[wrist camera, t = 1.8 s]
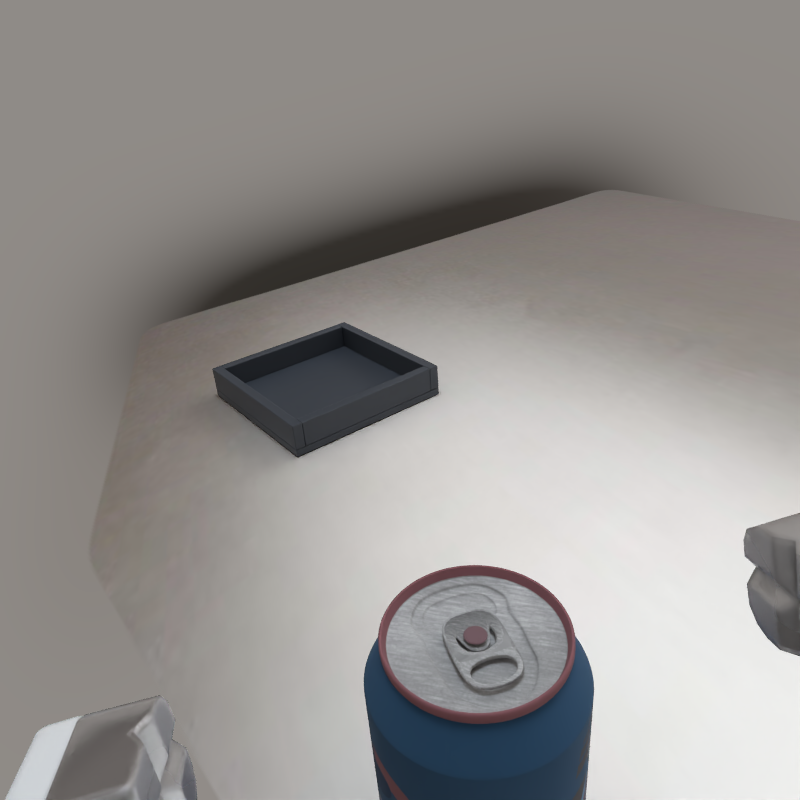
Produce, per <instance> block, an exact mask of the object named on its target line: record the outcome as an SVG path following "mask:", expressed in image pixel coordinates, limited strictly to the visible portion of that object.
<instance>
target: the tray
mask: <svg viewBox="0 0 800 800" xmlns="http://www.w3.org/2000/svg"><path fill="white" fill-rule="evenodd" d="M213 374H214V378H215V383H216V387H217V392H218V395H219V396H220V397H221V398H223V399H224V400H225V401H226V402H228V403H229V404H230V405H232V406H233V407H234V408H235V409H237V410H238V411H239V412H241V413H242V414H243V415H244V416H246V417H247V418H248V419H250V420H251V421H252V422H253V423H255V424H256V425H257V426H259V427H260V428H261V429H262V430H264V431H265V432H266V433H268V434H269V435H270V436H271V437H273V438H274V439H275V440H277V441H278V442H279V443H281V444H282V445H283V446H284V447H286V448H287V449H288V450H290V451H291V452H292V453H293V454H295V455H296V456H297V457H299V456H301V455H303V454H305V453H307V452H310V451H312V450H314V449H316V448H319V447H321V446H323V445H325V444H327V443H330V442H332V441H334V440H336V439H339V438H341V437H343V436H345V435H348V434H350V433H352V432H354V431H356V430H359V429H361V428H363V427H365V426H368V425H370V424H372V423H374V422H376V421H379V420H381V419H383V418H385V417H388V416H390V415H392V414H394V413H396V412H399V411H401V410H403V409H405V408H408V407H410V406H412V405H414V404H417V403H419V402H421V401H423V400H425V399H428V398H430V397H432V396H434V395H437V394H438V393H439V392H438V373H437V366H436V365H434V364H432V363H430V362H428V361H426V360H424V359H421V358H419V357H417V356H415V355H413V354H411V353H409V352H407V351H404V350H402V349H400V348H398V347H396V346H394V345H392V344H390V343H387V342H385V341H383V340H381V339H379V338H377V337H375V336H372V335H370V334H368V333H366V332H364V331H362V330H360V329H358V328H355V327H353V326H351V325H349V324H347V323H345V322H344V323H341V324H338V325H335V326H332V327H330V328H327V329H324V330H321V331H318V332H315V333H313V334H310V335H307V336H304V337H301V338H298V339H295V340H293V341H290V342H287V343H284V344H281V345H278V346H276V347H273V348H270V349H267V350H264V351H261V352H258V353H256V354H253V355H250V356H247V357H244V358H241V359H239V360H236V361H233V362H230V363H227V364H224V365H222V366H219V367H216V368H213Z"/></svg>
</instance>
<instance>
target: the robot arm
mask: <svg viewBox="0 0 800 800" xmlns="http://www.w3.org/2000/svg"><path fill="white" fill-rule="evenodd" d="M744 552H745V557H746V558H747V559H748V560H749V561H750V562H752V563H753V564H754V565H755V566H756V568H755V570H754V572H753V574H752V575H751V577H750V579H749V581H748V583H747V588H748V596H749V604H750V607H751V609H752V612H753V614H754V617H755V619H756V621H757V624H758V625H759V627H760V628H761V630H762V631H763V632H764V634H765V635H766V637H767V638H768V639H769V640H770V641H771V642H772V643H773V644H774V645H775V646H776V647H778V648H779V649H780V650H783V651H786V652H789V653H792V654H795V655H798V656H800V513H798V514H794V515H791V516H788V517H784V518H781V519H778V520H775V521H771V522H768V523H765V524H761V525H758V526H755V527H751V528H748V529H747V530H746V533H745V537H744ZM174 725H175V718H174V716H173V713H172V711H171V709H170V706H169V704H168V702H167V700H166V699H165V698H163V697H162V696H160V695H158V696H155V697H151V698H147V699H143V700H139V701H135V702H132V703H128V704H124V705H120V706H116V707H113V708H109V709H105V710H101V711H97V712H93V713H90V714H86V715H84V716H78V717H74V718H71V719H68V720H64V721H61V722H57V723H54V724H50V725H47V726H45V727H43V728H42V729H41V730H39V731H38V732H37V733H36V735H35V737H34V739H33V741H32V743H31V746H30V748H29V750H28V752H27V754H26V756H25V758H24V760H23V762H22V764H21V767H20V769H19V771H18V773H17V775H16V777H15V779H14V781H13V783H12V786H11V788H10V790H9V792H8V794H7V796H6V798H5V800H197V791H196V779H195V775H194V771H193V766H192V762H191V760H190V757H189V754H188V751H187V749H186V747H184V746H183V745H181V744H179V743H178V742H176V741H174V740H173V739H172V735H173V730H174Z"/></svg>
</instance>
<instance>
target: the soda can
mask: <svg viewBox="0 0 800 800" xmlns="http://www.w3.org/2000/svg"><path fill="white" fill-rule="evenodd" d="M364 692H365V699H366V706H367V713H368V720H369V727H370V734H371V741H372V748H373V755H374V762H375V769H376V776H377V783H378V790H379V797H380V800H586V787H587V774H588V761H589V748H590V735H591V722H592V709H593V696H594V682H593V675H592V671H591V667H590V664H589V661H588V658H587V656H586V654H585V651H584V650H583V648H582V646H581V644H580V643H579V641H578V639H577V638H576V636H575V633H574V629H573V625H572V622H571V620H570V617H569V615H568V614H567V612H566V610H565V609H564V607H563V606H562V604H561V603H560V602H559V600H558V599H557V598H556V597H555V596H554V595H553V594H552V593H551V592H550V591H549V590H547V589H546V588H545V587H543V586H542V585H540V584H539V583H537V582H536V581H534V580H532V579H530V578H528V577H526V576H524V575H522V574H519V573H517V572H514V571H510V570H507V569H503V568H498V567H492V566H482V565H467V566H458V567H451V568H446V569H443V570H439V571H436V572H433V573H430V574H428V575H426V576H424V577H422V578H420V579H418V580H416V581H414V582H413V583H411V584H410V585H409V586H407V587H406V588H405V589H403V590H402V591H401V592H400V593H399V594H398V595H397V596H396V597H395V598H394V600H393V601H392V602H391V604H390V605H389V607H388V608H387V610H386V612H385V614H384V616H383V618H382V620H381V624H380V628H379V634H378V638H377V639H376V641H375V643H374V645H373V647H372V649H371V651H370V654H369V656H368V659H367V663H366V667H365V673H364Z"/></svg>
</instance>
